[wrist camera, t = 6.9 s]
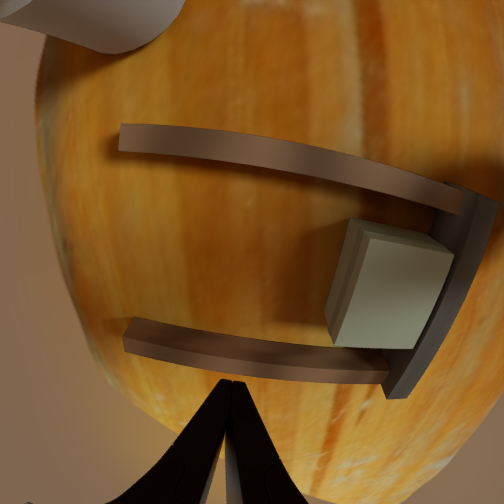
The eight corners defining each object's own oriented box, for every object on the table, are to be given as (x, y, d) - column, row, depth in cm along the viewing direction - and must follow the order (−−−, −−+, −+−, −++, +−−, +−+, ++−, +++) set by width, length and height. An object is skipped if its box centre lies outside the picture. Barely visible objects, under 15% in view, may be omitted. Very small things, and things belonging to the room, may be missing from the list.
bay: (464, 188, 16) (499, 203, 12) (392, 365, 22) (406, 398, 19) (139, 120, 15) (108, 118, 12) (135, 333, 22) (118, 367, 18)
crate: (425, 231, 18) (455, 254, 14) (393, 316, 21) (413, 349, 17) (348, 215, 18) (369, 237, 14) (322, 310, 20) (332, 346, 17)
